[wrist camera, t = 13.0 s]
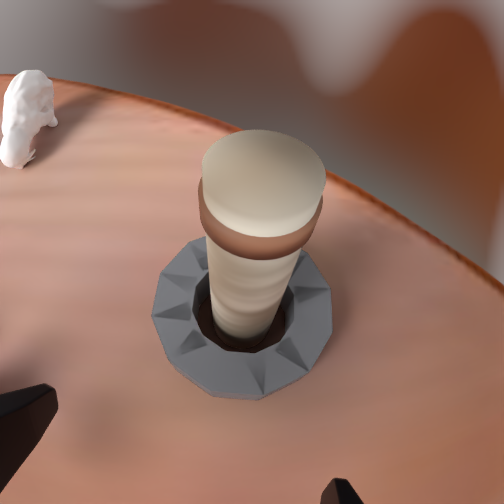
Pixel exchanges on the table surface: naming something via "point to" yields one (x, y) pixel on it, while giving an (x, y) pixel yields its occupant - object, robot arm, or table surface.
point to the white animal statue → (25, 115)
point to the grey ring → (237, 363)
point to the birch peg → (255, 225)
